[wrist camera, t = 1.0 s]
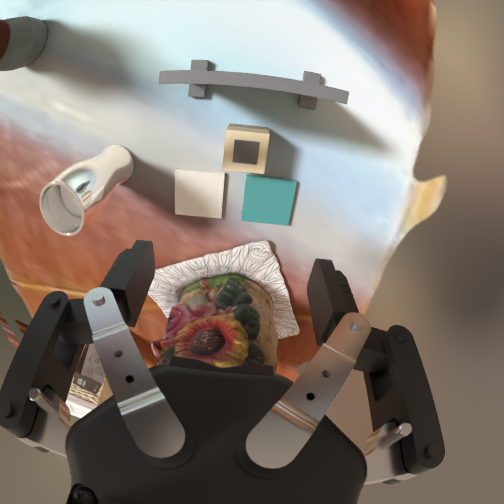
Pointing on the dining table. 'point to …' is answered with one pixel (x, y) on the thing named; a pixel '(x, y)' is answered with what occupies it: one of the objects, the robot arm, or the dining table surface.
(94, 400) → the storage basket
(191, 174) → the pad
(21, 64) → the bottle
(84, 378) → the coffee box
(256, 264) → the cookie jar
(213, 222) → the dining table surface
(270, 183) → the pad
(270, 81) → the screen
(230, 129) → the beige cube
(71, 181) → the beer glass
